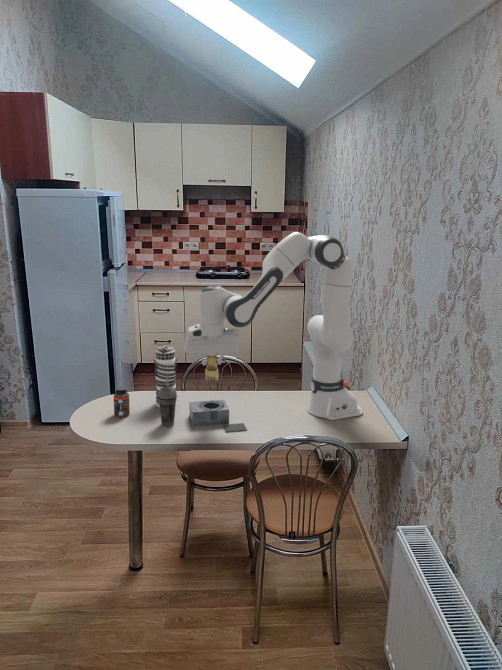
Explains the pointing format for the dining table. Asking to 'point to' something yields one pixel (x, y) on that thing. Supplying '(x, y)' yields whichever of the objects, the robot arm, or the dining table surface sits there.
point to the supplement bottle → (121, 402)
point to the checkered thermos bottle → (165, 368)
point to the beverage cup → (167, 404)
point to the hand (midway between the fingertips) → (211, 364)
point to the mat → (234, 427)
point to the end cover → (211, 368)
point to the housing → (209, 413)
